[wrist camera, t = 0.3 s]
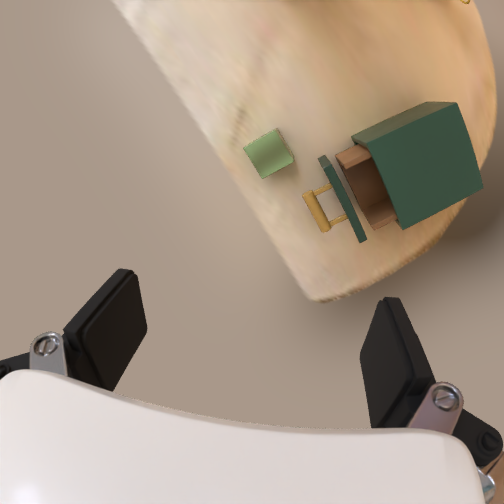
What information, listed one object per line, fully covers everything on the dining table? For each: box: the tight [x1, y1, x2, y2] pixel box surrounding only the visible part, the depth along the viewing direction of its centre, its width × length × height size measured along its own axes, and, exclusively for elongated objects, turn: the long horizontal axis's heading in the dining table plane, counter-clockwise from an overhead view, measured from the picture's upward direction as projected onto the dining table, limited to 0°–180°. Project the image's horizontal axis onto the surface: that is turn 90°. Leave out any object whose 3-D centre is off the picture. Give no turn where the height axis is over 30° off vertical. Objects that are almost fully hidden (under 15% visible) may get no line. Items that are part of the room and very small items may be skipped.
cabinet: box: [351, 102, 483, 230], centre depth 35 cm, size 15×13×10 cm
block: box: [243, 128, 294, 179], centre depth 40 cm, size 5×5×5 cm
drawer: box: [302, 144, 398, 243], centre depth 38 cm, size 18×11×8 cm, turn 121°
